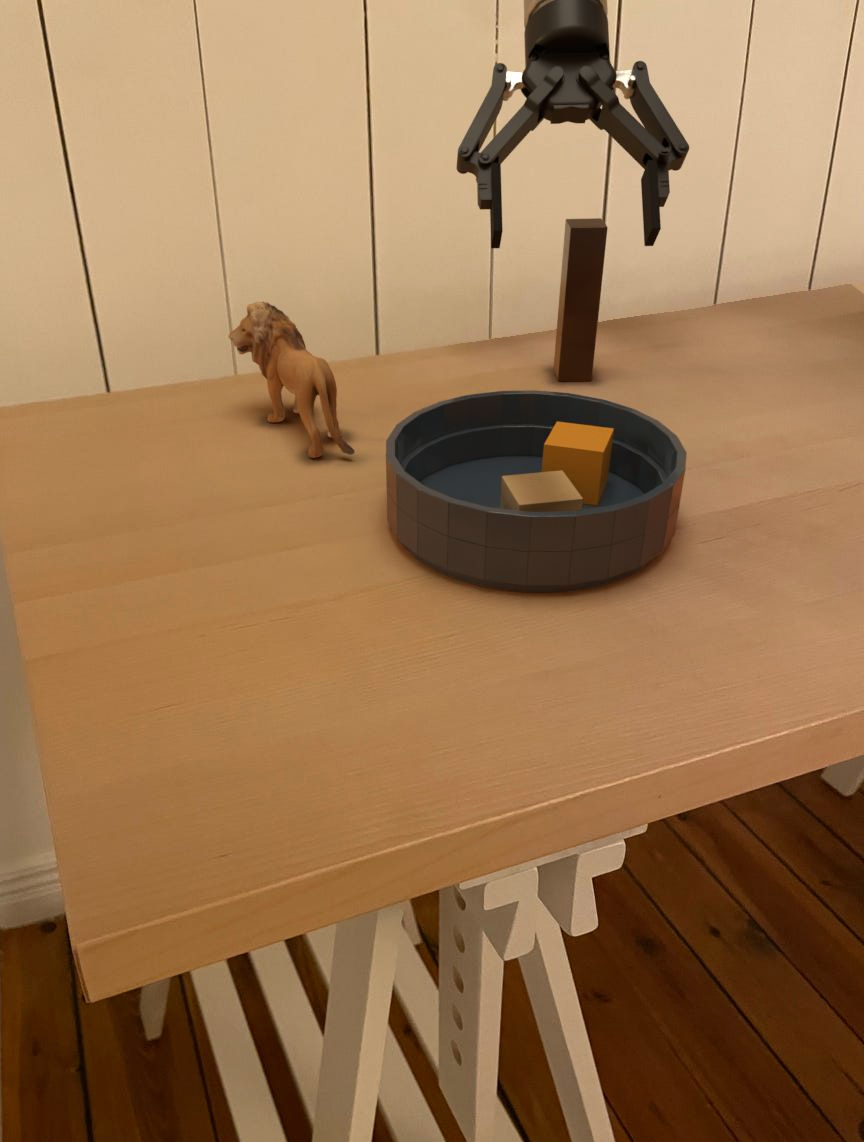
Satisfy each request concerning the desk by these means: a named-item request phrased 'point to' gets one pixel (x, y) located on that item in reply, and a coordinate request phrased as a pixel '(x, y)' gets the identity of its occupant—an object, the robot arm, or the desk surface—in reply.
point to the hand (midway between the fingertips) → (574, 239)
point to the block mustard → (580, 457)
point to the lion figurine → (290, 370)
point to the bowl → (515, 446)
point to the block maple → (539, 492)
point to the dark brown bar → (579, 298)
